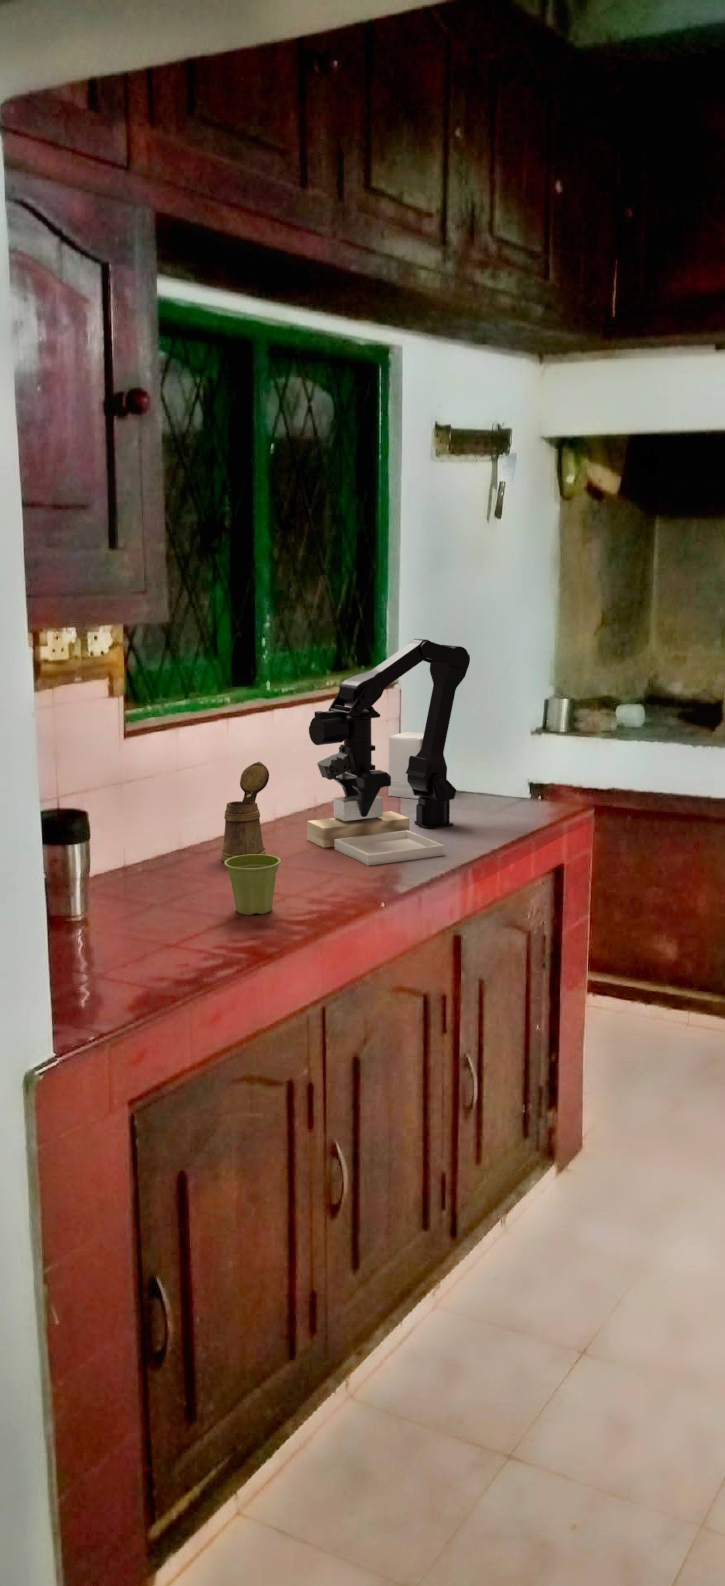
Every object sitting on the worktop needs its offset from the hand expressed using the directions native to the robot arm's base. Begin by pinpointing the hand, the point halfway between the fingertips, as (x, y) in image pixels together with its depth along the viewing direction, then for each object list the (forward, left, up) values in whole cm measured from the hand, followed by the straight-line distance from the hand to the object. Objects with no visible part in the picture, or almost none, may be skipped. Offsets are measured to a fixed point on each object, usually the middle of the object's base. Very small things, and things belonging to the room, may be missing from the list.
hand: (358, 814), depth 261 cm
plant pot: (+39, +38, -5) cm, 55 cm away
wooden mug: (+26, +3, -5) cm, 27 cm away
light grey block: (0, 0, 0) cm, 0 cm away
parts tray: (0, +14, -5) cm, 14 cm away
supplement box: (-32, -34, -5) cm, 47 cm away
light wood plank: (0, 0, -5) cm, 5 cm away
